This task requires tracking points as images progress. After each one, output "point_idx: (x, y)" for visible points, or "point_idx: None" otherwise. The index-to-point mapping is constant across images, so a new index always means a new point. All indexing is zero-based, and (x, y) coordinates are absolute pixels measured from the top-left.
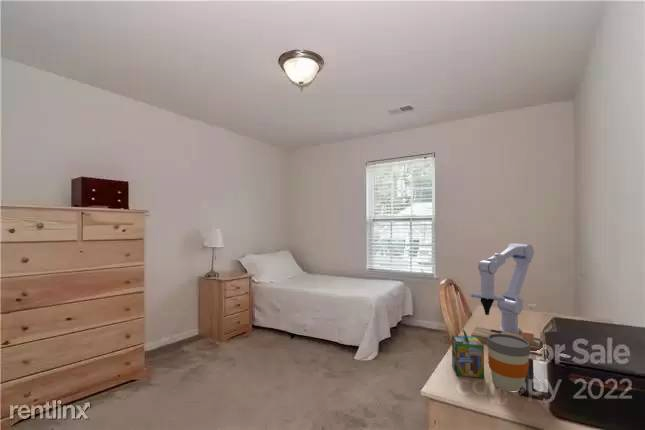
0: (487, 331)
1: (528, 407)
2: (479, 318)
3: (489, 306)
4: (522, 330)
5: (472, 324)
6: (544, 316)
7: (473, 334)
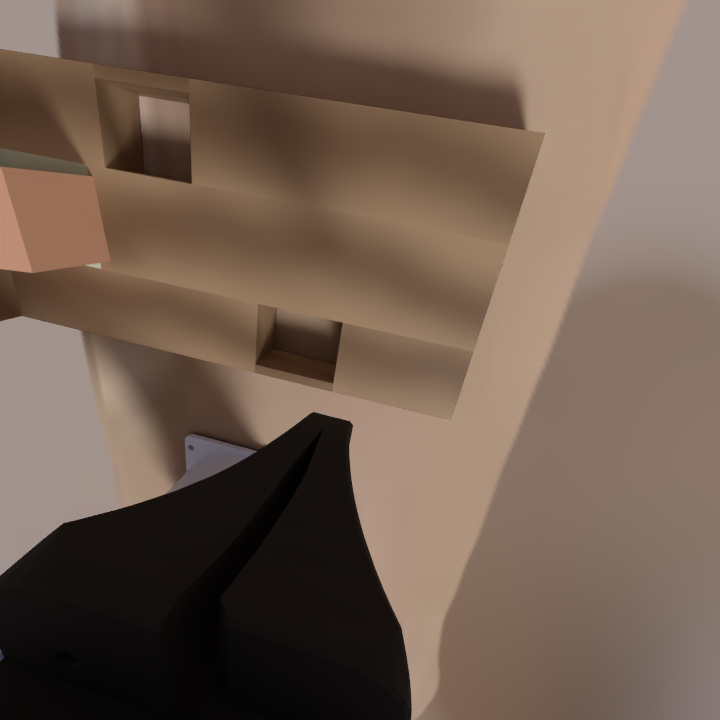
0: (363, 315)
1: None
2: (404, 635)
3: (213, 486)
4: (21, 233)
5: (461, 532)
6: None
7: (516, 135)
